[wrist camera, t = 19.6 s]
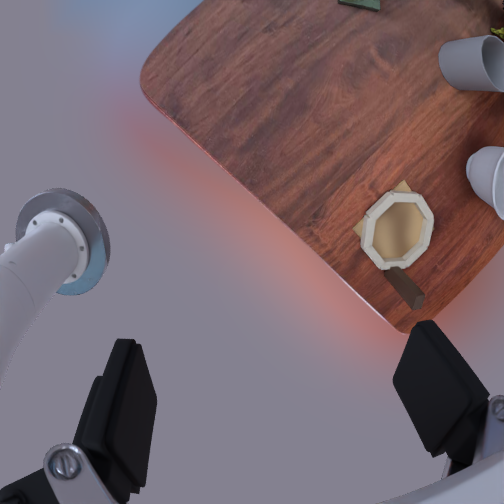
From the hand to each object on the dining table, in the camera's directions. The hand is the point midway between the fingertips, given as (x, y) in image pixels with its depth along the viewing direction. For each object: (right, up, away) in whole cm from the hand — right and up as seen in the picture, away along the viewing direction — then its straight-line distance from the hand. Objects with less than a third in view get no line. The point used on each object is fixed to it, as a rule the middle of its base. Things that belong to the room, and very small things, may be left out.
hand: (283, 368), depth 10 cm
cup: (+31, +33, +24) cm, 52 cm away
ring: (+21, +7, +35) cm, 41 cm away
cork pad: (+21, +7, +35) cm, 42 cm away
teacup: (+38, +17, +32) cm, 53 cm away
